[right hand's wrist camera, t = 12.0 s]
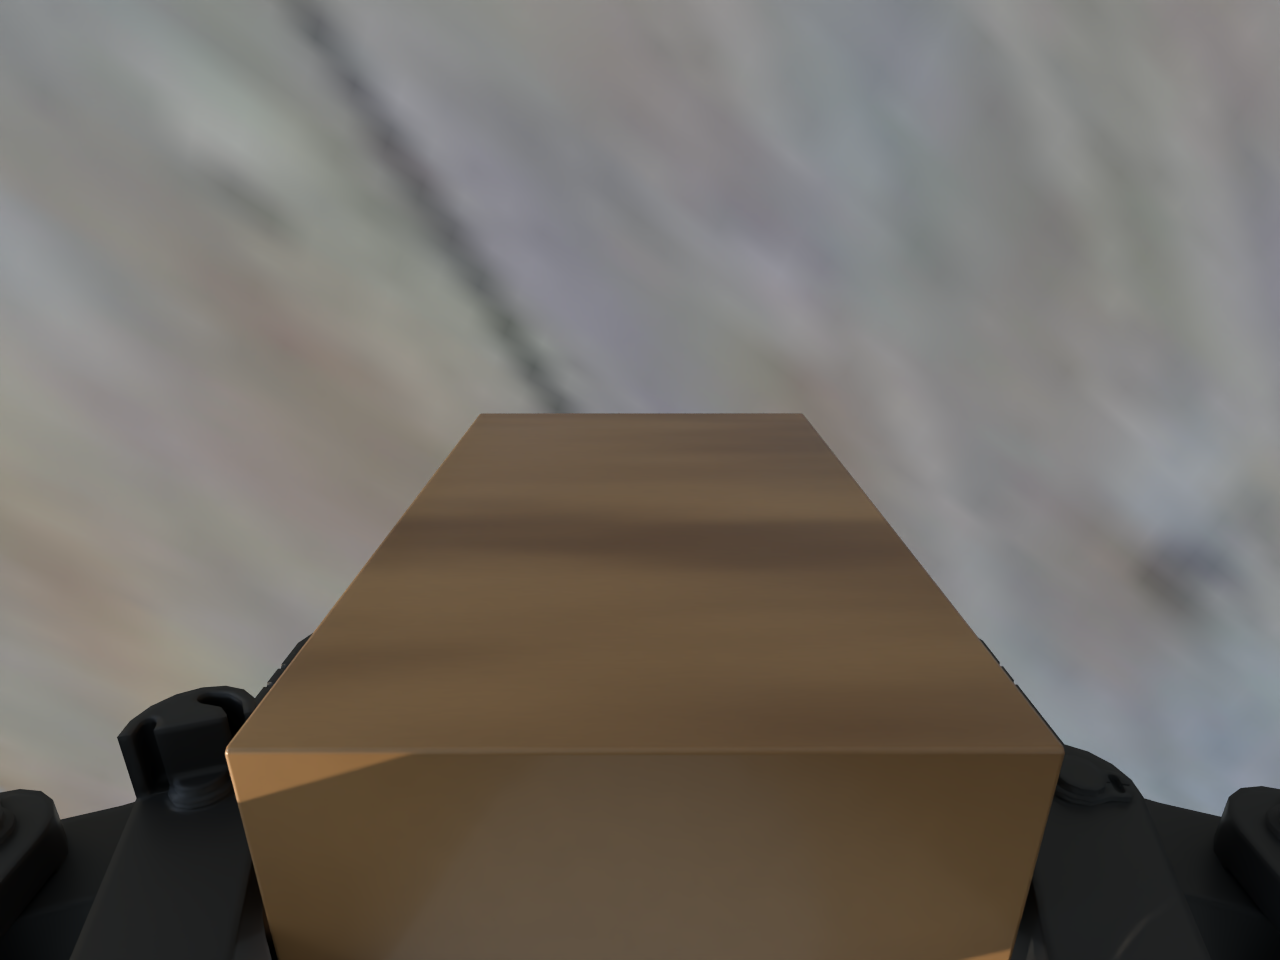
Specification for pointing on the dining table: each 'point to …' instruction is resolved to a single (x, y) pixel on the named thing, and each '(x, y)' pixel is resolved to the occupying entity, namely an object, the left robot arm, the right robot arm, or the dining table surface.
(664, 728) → the box
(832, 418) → the dining table surface
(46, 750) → the dining table surface
